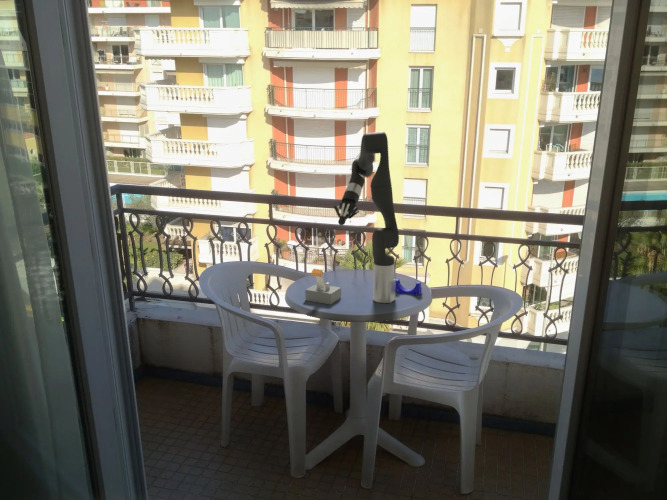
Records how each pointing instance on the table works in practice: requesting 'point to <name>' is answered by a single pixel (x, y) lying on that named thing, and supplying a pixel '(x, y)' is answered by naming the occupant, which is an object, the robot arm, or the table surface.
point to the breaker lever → (318, 277)
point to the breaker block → (323, 293)
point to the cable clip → (412, 291)
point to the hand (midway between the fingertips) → (340, 224)
